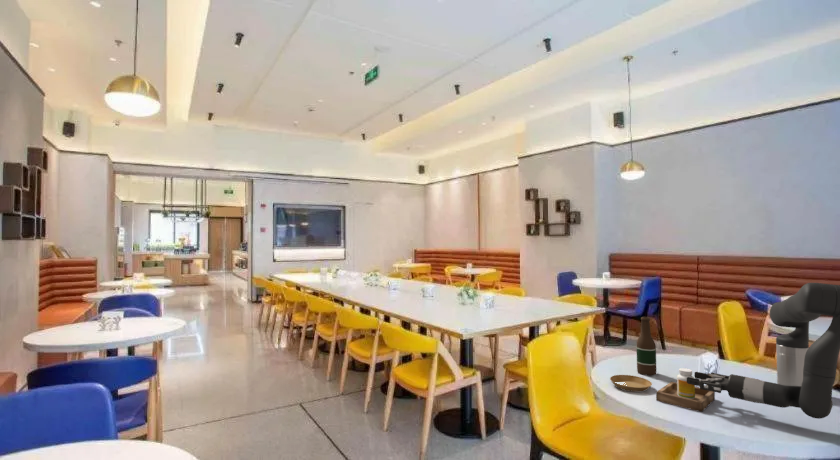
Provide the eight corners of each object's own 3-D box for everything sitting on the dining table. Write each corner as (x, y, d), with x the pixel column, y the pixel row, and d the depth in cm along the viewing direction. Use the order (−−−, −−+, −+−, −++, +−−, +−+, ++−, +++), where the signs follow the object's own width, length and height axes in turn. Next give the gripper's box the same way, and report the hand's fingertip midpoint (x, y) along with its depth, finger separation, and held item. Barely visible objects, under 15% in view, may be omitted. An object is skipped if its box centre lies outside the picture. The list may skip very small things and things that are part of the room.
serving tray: (671, 389, 163) (671, 381, 163) (714, 399, 152) (714, 391, 152) (656, 400, 152) (656, 392, 152) (701, 411, 141) (701, 402, 142)
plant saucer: (642, 381, 173) (642, 374, 173) (659, 394, 158) (658, 387, 158) (604, 380, 174) (604, 374, 174) (617, 393, 160) (617, 386, 160)
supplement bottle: (697, 400, 149) (697, 372, 149) (681, 399, 150) (680, 371, 150) (691, 394, 154) (690, 367, 154) (674, 393, 155) (674, 367, 155)
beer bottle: (660, 376, 178) (659, 318, 179) (642, 376, 179) (640, 319, 179) (650, 370, 186) (649, 315, 187) (633, 370, 186) (631, 315, 187)
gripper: (751, 372, 144) (696, 362, 156) (741, 382, 134) (684, 371, 146) (752, 394, 144) (697, 383, 156) (742, 406, 134) (684, 392, 146)
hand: (690, 377), depth 151 cm, fingers open, 8 cm apart
